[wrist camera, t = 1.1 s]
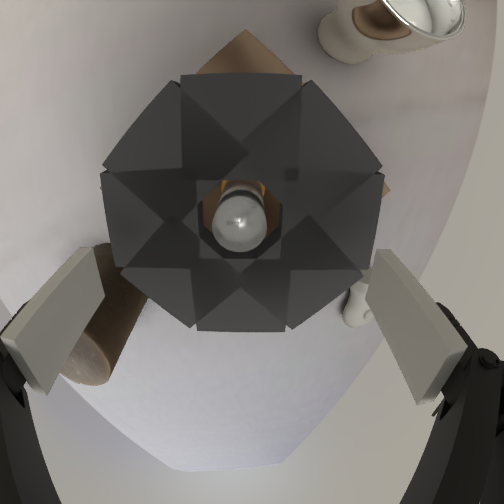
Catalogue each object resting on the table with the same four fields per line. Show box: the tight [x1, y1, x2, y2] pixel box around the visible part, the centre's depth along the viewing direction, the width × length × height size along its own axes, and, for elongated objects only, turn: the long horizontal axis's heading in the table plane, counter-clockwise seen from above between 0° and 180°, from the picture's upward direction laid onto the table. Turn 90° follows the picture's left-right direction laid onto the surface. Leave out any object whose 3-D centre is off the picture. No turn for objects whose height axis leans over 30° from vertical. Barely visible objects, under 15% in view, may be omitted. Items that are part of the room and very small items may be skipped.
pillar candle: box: [60, 243, 148, 386], centre depth 28 cm, size 10×10×15 cm
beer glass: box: [318, 0, 466, 64], centre depth 15 cm, size 7×7×15 cm
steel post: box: [212, 180, 267, 252], centre depth 22 cm, size 4×4×11 cm
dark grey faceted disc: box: [100, 73, 385, 332], centre depth 19 cm, size 18×18×2 cm
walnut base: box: [100, 29, 390, 238], centre depth 28 cm, size 21×21×2 cm
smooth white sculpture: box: [343, 268, 374, 328], centre depth 34 cm, size 4×8×5 cm
